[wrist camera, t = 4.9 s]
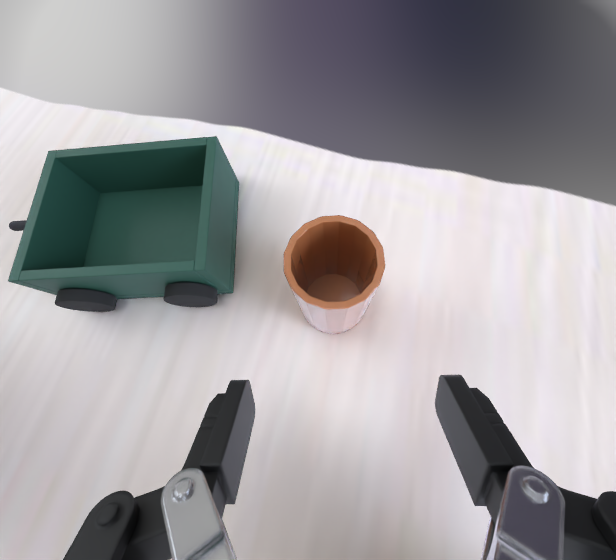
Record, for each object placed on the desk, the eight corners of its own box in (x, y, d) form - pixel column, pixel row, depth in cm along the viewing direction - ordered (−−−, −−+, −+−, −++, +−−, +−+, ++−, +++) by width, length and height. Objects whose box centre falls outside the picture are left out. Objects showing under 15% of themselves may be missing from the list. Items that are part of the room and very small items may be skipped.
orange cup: (302, 335, 24) (283, 311, 15) (300, 273, 25) (283, 218, 16) (367, 332, 23) (390, 306, 14) (362, 270, 25) (378, 212, 16)
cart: (77, 301, 26) (7, 281, 21) (102, 193, 30) (48, 150, 24) (233, 293, 25) (205, 270, 20) (239, 182, 29) (216, 135, 23)
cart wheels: (35, 315, 26) (-21, 303, 22) (70, 186, 31) (28, 157, 26) (223, 305, 25) (202, 292, 21) (232, 174, 29) (215, 141, 25)
